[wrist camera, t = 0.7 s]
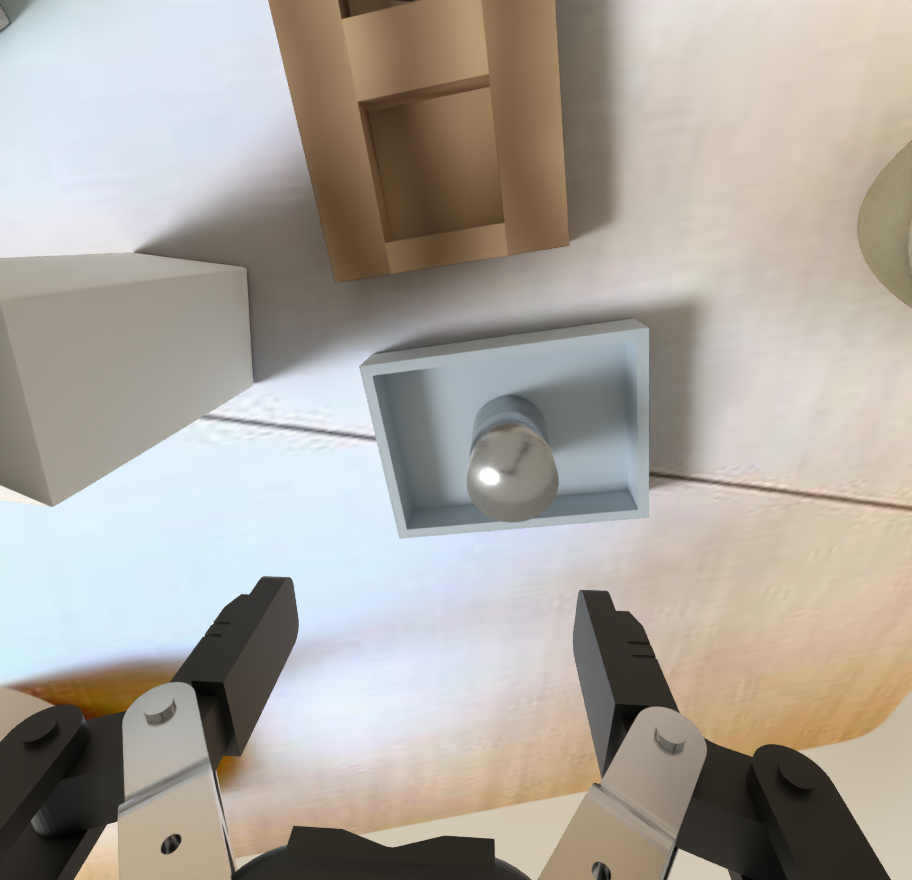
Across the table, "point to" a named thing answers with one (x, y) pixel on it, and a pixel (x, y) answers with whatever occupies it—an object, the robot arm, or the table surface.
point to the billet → (511, 461)
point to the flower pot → (890, 226)
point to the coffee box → (3, 19)
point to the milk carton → (110, 362)
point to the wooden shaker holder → (428, 128)
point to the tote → (536, 379)
